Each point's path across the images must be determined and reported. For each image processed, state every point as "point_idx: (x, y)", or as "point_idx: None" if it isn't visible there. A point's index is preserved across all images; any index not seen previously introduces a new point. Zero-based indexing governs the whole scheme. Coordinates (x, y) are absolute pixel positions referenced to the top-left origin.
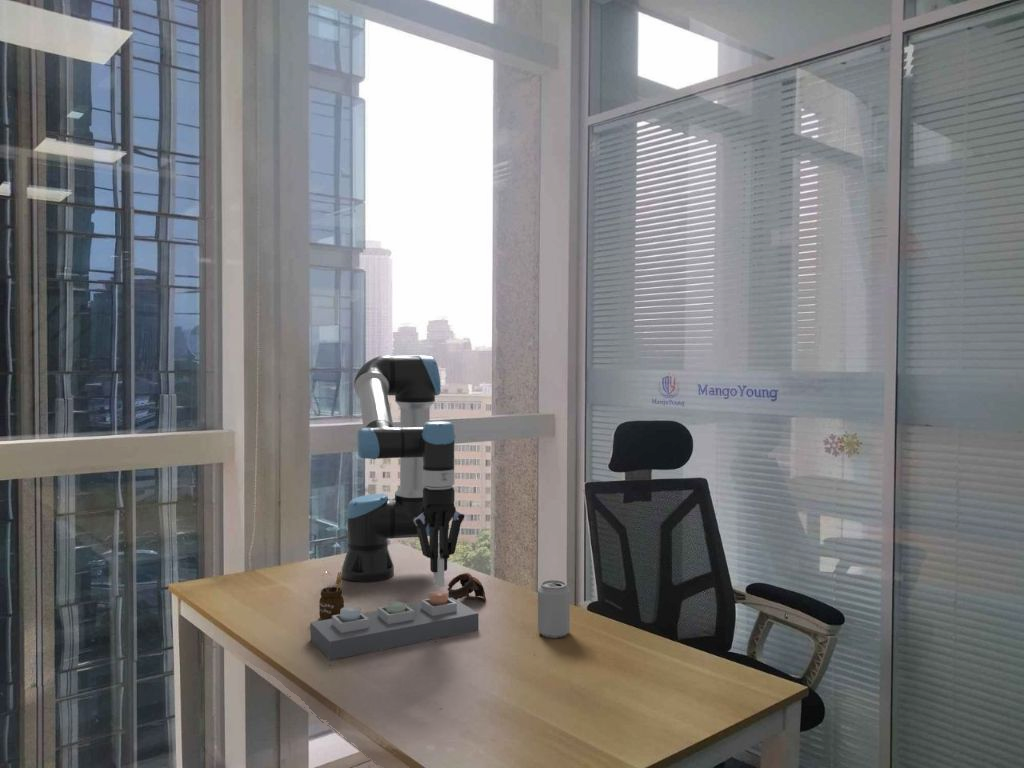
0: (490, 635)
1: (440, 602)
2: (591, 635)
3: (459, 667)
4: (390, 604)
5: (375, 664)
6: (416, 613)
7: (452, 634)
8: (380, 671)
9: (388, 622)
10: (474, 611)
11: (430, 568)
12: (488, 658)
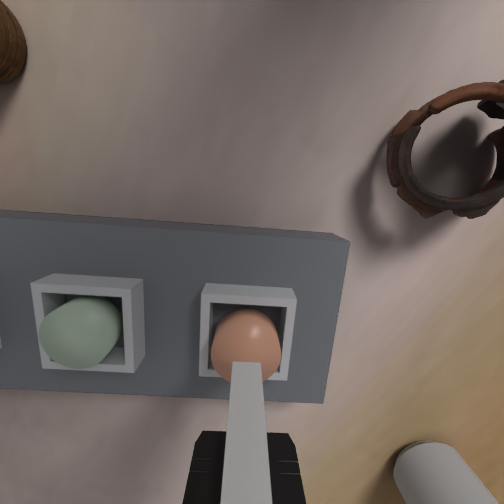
0: (312, 407)
1: None
2: None
3: (171, 494)
4: (56, 326)
5: (29, 414)
6: (172, 317)
7: None
8: (30, 444)
9: None
10: (323, 387)
11: (194, 449)
12: None
